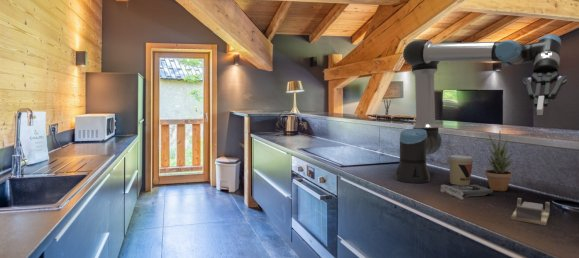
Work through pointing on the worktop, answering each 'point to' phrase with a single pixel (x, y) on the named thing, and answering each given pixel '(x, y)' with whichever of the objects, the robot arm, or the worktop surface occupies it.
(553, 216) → the worktop surface
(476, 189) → the graphics card
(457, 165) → the coffee cup
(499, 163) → the potted plant
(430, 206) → the worktop surface
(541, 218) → the base
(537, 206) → the latch lever
